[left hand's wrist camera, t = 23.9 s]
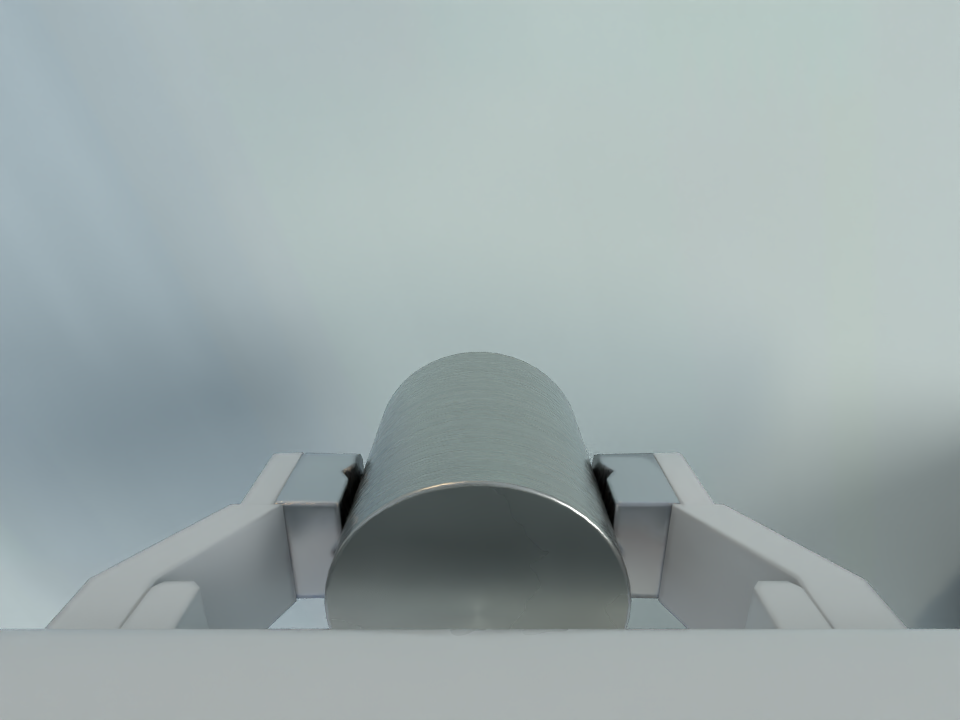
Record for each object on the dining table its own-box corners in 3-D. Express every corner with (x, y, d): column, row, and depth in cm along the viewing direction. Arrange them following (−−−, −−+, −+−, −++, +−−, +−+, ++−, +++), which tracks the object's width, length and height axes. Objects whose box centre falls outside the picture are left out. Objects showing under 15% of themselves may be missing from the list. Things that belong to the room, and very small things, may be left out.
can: (356, 372, 11) (280, 513, 7) (561, 332, 11) (613, 455, 7) (407, 538, 13) (370, 739, 9) (590, 507, 13) (647, 699, 8)
